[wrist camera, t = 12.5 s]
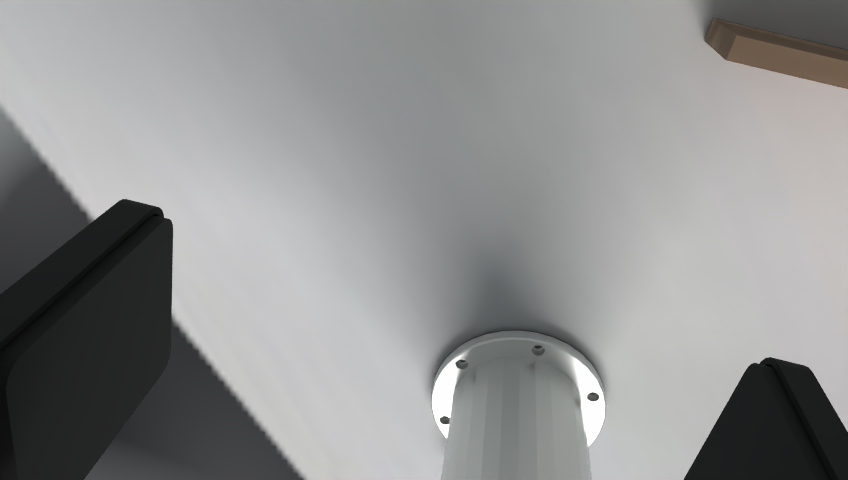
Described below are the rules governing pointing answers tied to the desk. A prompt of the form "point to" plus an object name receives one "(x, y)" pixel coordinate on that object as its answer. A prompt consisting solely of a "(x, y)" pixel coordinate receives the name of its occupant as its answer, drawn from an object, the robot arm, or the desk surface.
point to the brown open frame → (779, 53)
